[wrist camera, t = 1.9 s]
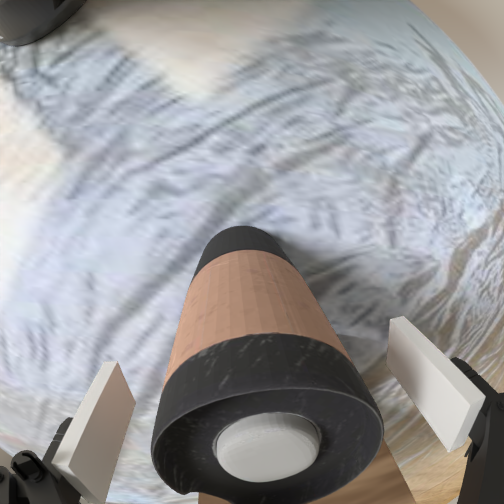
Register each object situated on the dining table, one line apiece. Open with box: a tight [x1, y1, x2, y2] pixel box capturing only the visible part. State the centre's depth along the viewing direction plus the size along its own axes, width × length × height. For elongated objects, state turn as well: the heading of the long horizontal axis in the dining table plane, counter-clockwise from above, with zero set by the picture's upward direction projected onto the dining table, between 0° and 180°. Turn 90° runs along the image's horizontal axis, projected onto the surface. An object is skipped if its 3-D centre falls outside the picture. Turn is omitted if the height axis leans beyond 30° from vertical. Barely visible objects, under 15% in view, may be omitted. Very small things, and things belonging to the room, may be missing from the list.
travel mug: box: [151, 226, 384, 504], centre depth 17 cm, size 8×8×20 cm
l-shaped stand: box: [198, 439, 416, 504], centre depth 21 cm, size 13×20×22 cm, turn 98°
